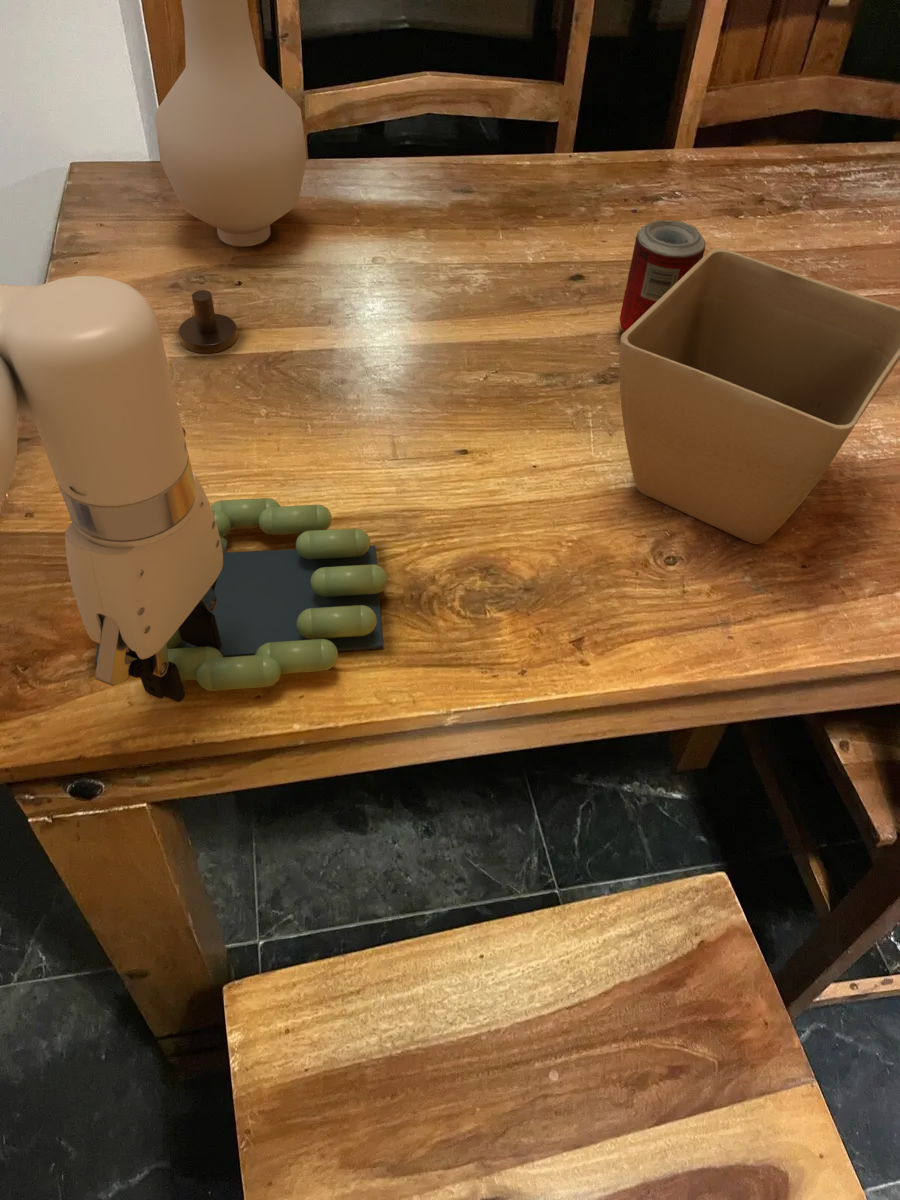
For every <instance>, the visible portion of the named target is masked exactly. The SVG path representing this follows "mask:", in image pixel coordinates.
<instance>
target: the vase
mask: <svg viewBox="0 0 900 1200" xmlns="http://www.w3.org/2000/svg"><path fill="white" fill-rule="evenodd" d="M180 1H181V8H182V15H183V22H184V50H185V51H184V53H185V67H184V69H183V71H182V72H181V74H180V75H179V77H178V78H177V79H176V81H175V83H174V84H173V86H172V87H171V88H170V90H169V91H168V92H167V94H166V95H165V97H164V99H163V100H162V101H161V103H160V104H159V106H158V107H157V110H156V114H155V118H154V121H155V129H156V138H157V145H158V154H159V163H160V165H161V167H162V169H163V171H164V173H165V175H166V178H167V180H168V182H169V183H170V186H171V188H172V190H173V191H174V193H175V195H176V198H177V200H178V202H179V204H180V205H181V207H182V208H183V209H184V211H185V212H186V213H187V214H189V215H191V216H193V217H194V218H195V219H198V220H200V221H201V222H203V223H206V224H208V225H210V226H211V227H214V228H216V231H217V232H216V233H217V237H218V238H219V240H220V241H221V242H222V243H225V244H226V245H230V246H233V247H242V248H243V247H253V246H257V245H260V244H263V243H264V242H266V241H267V240H268V239H269V238H270V236H271V225H272V224H274V222H276V221H278V220H279V219H280V218H281V217H283V216H285V215H286V214H288V213H289V212H290V211H292V210H293V208H294V207H295V206H296V205H297V203H298V202H299V199H300V195H301V190H302V185H303V180H304V177H305V176H304V175H305V171H306V167H307V145H306V137H305V131H304V130H305V129H304V124H303V118H302V117H303V116H302V109H301V108H300V106H299V105H298V104H297V103H296V102H295V100H294V99H293V98H292V97H291V96H290V95H289V94H288V93H287V92H286V91H285V90H284V89H283V88H282V87H281V86H280V85H279V84H278V83H277V82H276V81H275V80H274V79H273V78H272V77H271V76H270V75H269V73H267V72H266V70H265V69H264V68H262V66H260V60H259V56H258V52H257V46H256V43H255V39H254V35H253V29H252V26H251V25H252V24H251V20H250V14H249V4H248V0H180Z"/></svg>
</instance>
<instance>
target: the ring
mask: <svg viewBox="0 0 900 1200" xmlns="http://www.w3.org/2000/svg"><path fill="white" fill-rule="evenodd" d="M210 506H211V509H212V512H213V514H214V518H215V521H216V524H217V528H218V532H219V536H220V537H222V538H224V537H225V536H227V535H228V534H229V532H230V531H231V529H235V528H236V529H238V528H254V527H255V528H256V527H257V528H258V527H259V528H260V529H261V530H262V532H264V533H265V534H266V535H270V536H280V535H284V536H285V535H298V536H297V538H296V541H295V549H297V552H298V553H299V555H300V556H302V557H303V558H305V559H328V558H346V557H359V556H362V555H364V554H365V553H366V552H367V551H368V550H369V547H370V546H371V538H370V536H369V534H368V533H367V532H366V531H365V530H363V529H362V528H358V527H357V528H355V527H352V528H337V529H335V528H334V529H332V528H331V529H329V528H330V527H331V525H332V521H333V517H332V516H333V515H332V513H331V511H330V510H329V509H328V507H326V506H325V505H323V504H302V505H301V504H300V505H283V506H281V504H280V503H279V502H278V500H276V499H273V498H271V497H257V498H255V497H254V498H239V499H221V500H216V501H214V502H213V503H212V504H210ZM310 583H311V587H312V590H313V591H314V592H315V593H316V594H317V595H319V596H322V597H333V596H350V595H367V594H377V593H379V594H380V593H381V592H382V591H384V590H385V588H386V587H387V584H388V575H387V572H386V570H385V569H384V568H383V567H382V566H380V565H378V564H377V565H355V566H338V567H323V568H319V569H318V570H316V571H315V572H314V573H313V574H312V577H311V581H310ZM376 623H377V618H376V615H375V613H374V611H373V610H372V609H371V608H369V607H367V606H364V605H356V606H340V607H323V608H310V609H306V610H304V611H303V612H301V613H300V615H299V616H298V618H297V629H298V631H299V633H300V634H301V635H302V636H304V637H305V638H308V639H313V640H298V641H283V642H269V643H265V644H263V645H262V646H260V647H259V648H258V650H257V652H256V654H255V655H252V656H237V657H223V656H222V654H221V653H220V652H219V650H217V649H216V648H213V647H207V646H206V647H190V648H175V649H168V648H173V647H176V646H177V645H179V644H180V643H181V641H182V637H181V634H180V631H179V628H178V629H177V631H176V632H175V633H174V634H173V636H172V637H171V638H170V639H169V640H168V642H167V649H168V660H169V661H170V662H172V663H174V664H176V666H177V668H178V671H179V675H180V678H181V681H193V680H195V681H196V682H197V683H198V685H199V686H200V687H201V688H203V689H204V690H206V691H210V692H212V691H227V690H228V691H229V690H242V689H244V690H245V689H257V688H268V687H271V686H273V685H275V684H276V683H278V681H279V680H280V678H281V675H282V674H294V673H295V674H297V673H309V672H311V673H312V672H324V671H327V670H330V669H332V668H333V667H334V666H335V665H336V664H337V661H338V659H339V651H338V650H337V648H336V646H335V645H334V644H333V643H332V642H331V641H329V640H326V639H322V638H338V637H353V636H364V635H368V634H369V633H371V632H372V631H373V630H374V628H375V626H376Z"/></svg>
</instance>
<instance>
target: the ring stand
mask: <svg viewBox="0 0 900 1200" xmlns="http://www.w3.org/2000/svg"><path fill="white" fill-rule="evenodd" d="M191 299H192V304H193V310H194V311H193V312H194V315H193V316H191V317H189V318H187V319H186V320H184V321H183V322H182V323H181V324H180V326H179V327H178V335H179V341H180V344H182V346H183V347H184V348H185V349H187V350H189V351H191V352H194V353H197V354H213V353H219V352H222V351H225V350H227V349H229V348H230V347H232V346H233V345H234V344H235V342H236V341H237V339H238V329H237V325H236V323H235V321H234V320H233V319H231V318H230V317H229V316H227V315H224V314H220V313H215V307H214V300H213V297H212V292H211V291H209V290H206V289H201V290H200V289H199V290H196V291H194V292H193V293H192V294H191Z"/></svg>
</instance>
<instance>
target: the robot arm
mask: <svg viewBox="0 0 900 1200" xmlns="http://www.w3.org/2000/svg"><path fill="white" fill-rule="evenodd" d="M19 416H25V417H27V418H29V419H30V420H31V421H32V422H33V423H34V425H35V427H36V430H37V433H38V435H39V437H40V440H41V443H42V446H43V448H44V451H45V453H46V456H47V459H48V461H49V464H50V467H51V471H52V472H53V475H54V478H55V480H56V482H57V486H58V488H59V491H60V493H61V495H62V498H63V502H64V503H65V507H66V508H67V511H68V514H69V517H70V520H71V523H70V524H69V525H68V527H67V528H66V529H65V532H64V545H65V556H66V564H67V570H68V575H69V580H70V584H71V588H72V593H73V595H74V599H75V602H76V607H77V610H78V613H79V616H80V618H81V622H82V624H83V627H84V629H85V631H86V634H87V636H88V638H89V639H90V640H91V641H92V642H95V643H97V644H98V643H99V644H100V647H99V653H98V659H97V666H96V665H95V672H94V679H95V680H96V681H99V682H101V683H104V684H105V685H108V686H110V687H114V686H117V685H119V684H122V683H123V682H126V681H128V680H129V678H131V677H133V678H135V679H137V678H140V681H141V684H142V687H143V689H144V690H145V692H146V693H147V694H149V695H150V696H152V697H154V698H157V699H160V700H162V699H164V698H167V699H170V700H172V701H175V702H177V703H181V702H182V701H183V700H184V698H185V697H186V691H185V688H184V686H183V680H181V678H180V675H179V671H178V668H177V666H176V664H174V663H172V662H170V661H169V660H168V649H167V642H168V640H169V639H170V638H171V637H172V636H173V634H174V633H175V632H176V631H177V629H178V628H179V631H180V634H181V637H182V640H183V641H184V642H187V643H189V644H192V645H194V646H197V647H206V646H207V647H213V648H216V649H217V650H220V648H221V647H222V644H221V640H220V635H219V631H218V627H217V623H216V619H215V615H213V614H212V612H213V611H214V610H215V609H216V607H217V603H218V599H217V597H216V595H215V593H214V589H215V586H216V582H217V579H218V577H219V574H220V572H221V570H222V567H223V555H224V553H226V549H227V547H228V540H227V539H226V538H224V537H220V536H219V532H218V528H217V524H216V521H215V518H214V514H213V512H212V509H211V504H210V501H209V499H208V496H207V494H206V492H205V489H204V488H203V485H202V483H201V481H200V480H199V478H198V476H197V474H196V473H195V472H194V470H193V468H192V463H191V460H190V455H189V450H188V447H187V442H186V436H187V433H186V429H185V428H184V426H183V425H182V420H181V415H180V411H179V405H178V403H177V398H176V393H175V390H174V386H173V380H172V376H171V372H170V367H169V363H168V359H167V354H166V350H165V345H164V341H163V337H162V332H161V328H160V325H159V321H158V319H157V315H156V312H155V310H154V308H153V307H152V305H151V304H150V302H149V301H148V299H146V297H145V296H144V295H143V294H142V293H141V292H140V291H138V290H137V289H136V288H134V287H133V286H131V285H130V284H128V283H125V282H123V281H120V280H117V279H114V278H111V277H105V276H98V275H76V276H67V277H62V278H58V279H54V280H52V281H48V282H45V283H43V284H41V285H15V284H3V283H2V284H1V283H0V502H1V501H2V500H3V499H4V498H5V496H6V495H7V493H8V490H9V488H10V487H11V484H12V483H13V480H14V476H15V471H16V465H17V456H18V455H17V454H18V436H19V435H18V432H19Z"/></svg>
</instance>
